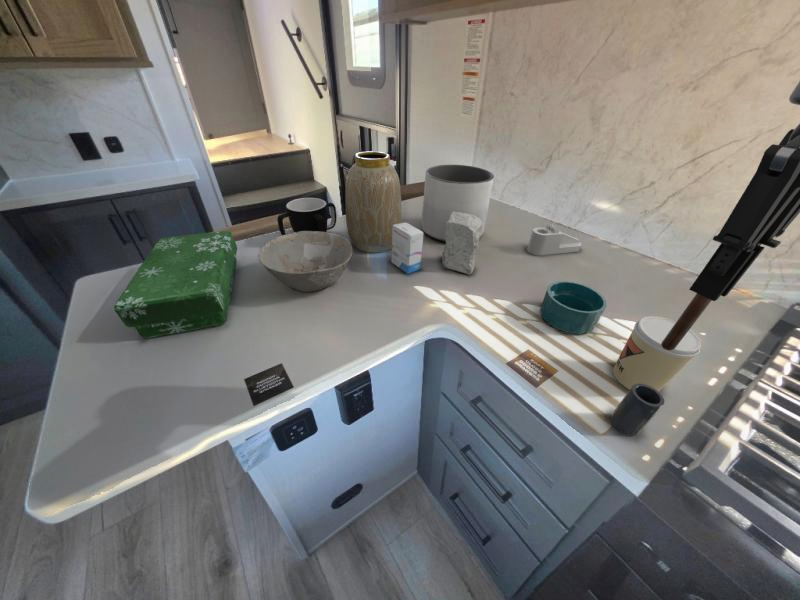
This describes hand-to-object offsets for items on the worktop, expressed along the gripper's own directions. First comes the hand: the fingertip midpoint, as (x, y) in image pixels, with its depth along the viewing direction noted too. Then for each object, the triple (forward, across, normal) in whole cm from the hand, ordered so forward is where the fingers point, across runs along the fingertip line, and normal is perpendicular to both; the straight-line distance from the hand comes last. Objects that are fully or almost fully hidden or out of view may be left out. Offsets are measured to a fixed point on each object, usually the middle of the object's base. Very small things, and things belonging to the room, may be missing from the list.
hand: (708, 292), depth 39 cm
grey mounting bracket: (+26, -38, -49) cm, 67 cm away
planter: (+26, -15, -74) cm, 80 cm away
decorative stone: (+26, -3, -53) cm, 59 cm away
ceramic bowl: (+26, +38, -61) cm, 76 cm away
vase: (+26, +14, -76) cm, 82 cm away
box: (+26, +65, -67) cm, 97 cm away
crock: (+26, +1, +2) cm, 26 cm away
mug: (+26, +32, -87) cm, 96 cm away
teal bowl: (+25, -13, -22) cm, 36 cm away
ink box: (+26, +11, -59) cm, 65 cm away
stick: (+10, 0, 0) cm, 10 cm away
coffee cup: (+26, -10, -4) cm, 28 cm away
